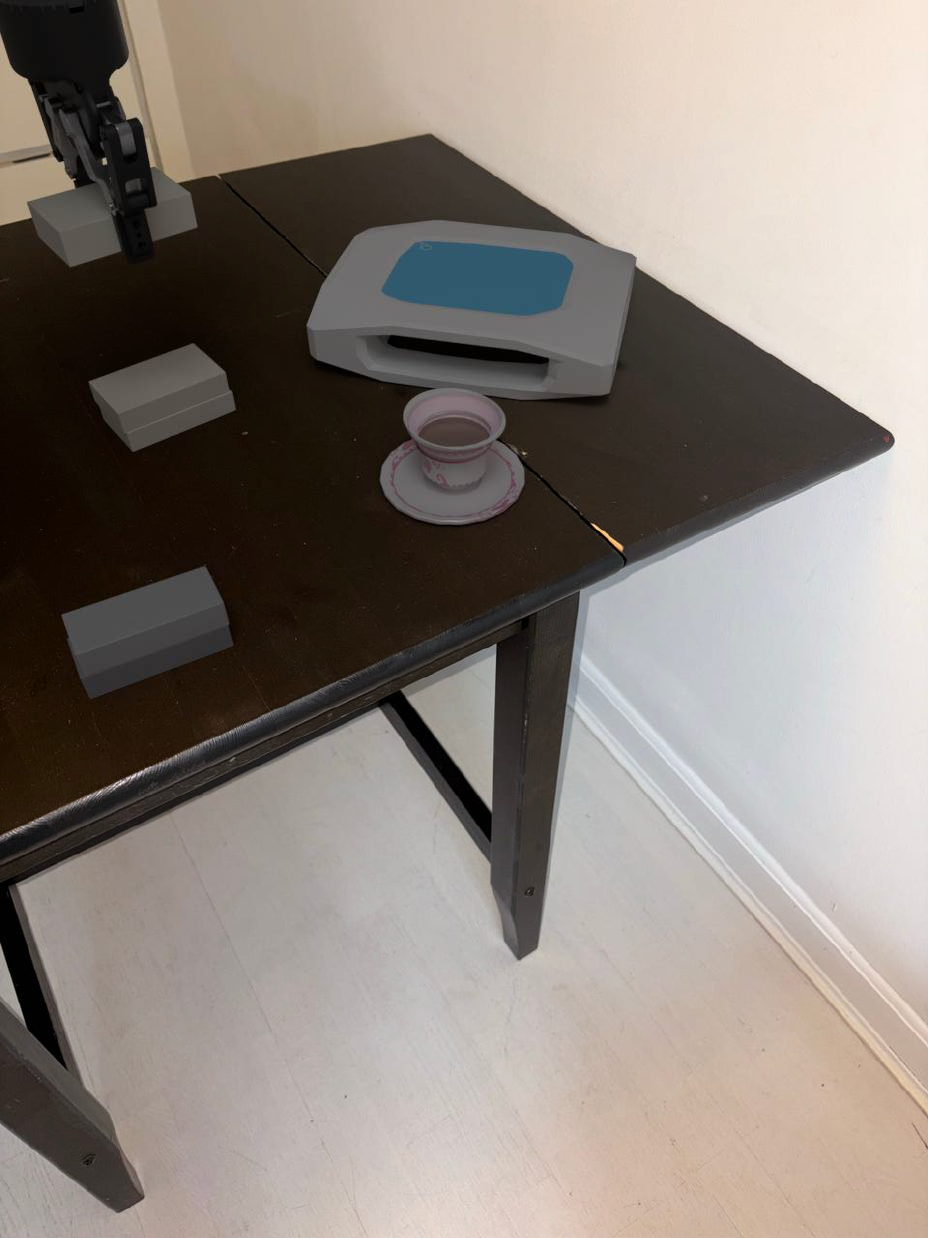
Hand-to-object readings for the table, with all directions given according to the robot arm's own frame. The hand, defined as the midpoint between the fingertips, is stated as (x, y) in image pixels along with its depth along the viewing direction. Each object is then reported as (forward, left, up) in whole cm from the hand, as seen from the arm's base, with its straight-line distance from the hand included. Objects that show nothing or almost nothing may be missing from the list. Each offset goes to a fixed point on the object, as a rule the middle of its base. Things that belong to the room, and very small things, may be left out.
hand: (121, 242), depth 71 cm
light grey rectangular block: (0, 0, +1) cm, 1 cm away
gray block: (-9, -25, -17) cm, 31 cm away
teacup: (+18, -18, -17) cm, 31 cm away
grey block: (0, +2, -17) cm, 17 cm away
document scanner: (+31, +1, -17) cm, 36 cm away
